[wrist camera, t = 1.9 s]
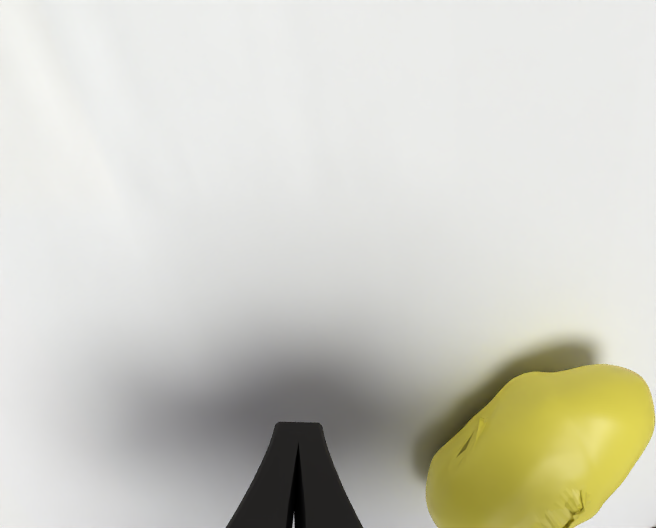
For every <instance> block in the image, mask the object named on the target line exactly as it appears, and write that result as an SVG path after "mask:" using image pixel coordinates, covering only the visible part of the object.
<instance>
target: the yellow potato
mask: <svg viewBox="0 0 656 528" xmlns="http://www.w3.org/2000/svg"><path fill="white" fill-rule="evenodd" d="M654 426H655V412H654V405H653V400H652V396H651V393H650V390H649V387H648V385H647V383H646V382H645V380H644V379H643V378H642V377H641V376H640V375H638V374H637V373H635V372H633V371H631V370H629V369H626V368H623V367H619V366H614V365H608V364H592V365H586V366H581V367H577V368H573V369H568V370H564V371H559V372H538V371H535V372H527V373H524V374H521V375H519V376H517V377H515V378H513V379H512V380H510V381H509V382H508V383H507V384H506V385H505V386H504V387H503V388H502V389H501V390H500V391H499V392H498V393H497V394H496V396H495V397H494V398H493V399H492V400H491V401H490V402H489V403H488V404H487V405H486V406H485V407H484V408H483V409H482V410H480V411H479V412H478V413H477V414H476V415H475V416H473V417H472V418H471V419H470V420H469V422H468V423H467V424H466V425H465V426H464V427H463V428H462V429H461V430H460V431H459V432H458V433H457V434H456V435H455V436H454V437H452V438H451V439H450V440H449V441H448V442H447V443H446V444H445V445H443V446H442V447H441V448H440V449H439V450H438V451H437V453H436V454H435V455H434V457H433V459H432V461H431V464H430V467H429V471H428V476H427V482H426V502H427V507H428V510H429V513H430V515H431V517H432V519H433V521H434V522H435V524H436V525H437V527H438V528H574V527H575V526H577V525H579V524H581V523H583V522H585V521H587V520H589V519H590V518H592V517H593V516H594V515H595V514H596V513H597V512H598V511H599V510H600V508H601V507H602V505H603V504H604V502H605V501H606V500H607V499H608V498H609V497H610V496H611V495H612V493H613V492H614V491H615V490H616V489H617V488H618V487H619V486H620V485H621V483H622V482H623V481H624V480H625V478H626V477H627V475H628V474H629V472H630V471H631V469H632V468H633V466H634V465H635V463H636V462H637V460H638V459H639V457H640V456H641V455H642V453H643V451H644V450H645V448H646V446H647V445H648V443H649V441H650V439H651V437H652V434H653V430H654Z"/></svg>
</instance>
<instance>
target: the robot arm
mask: <svg viewBox="0 0 656 528" xmlns="http://www.w3.org/2000/svg"><path fill="white" fill-rule="evenodd" d="M293 516H294V519H295V528H363V526H362V525H361V523H360V521H359V519H358V517H357V515H356V513H355V511H354V509H353V507H352V505H351V503H350V501H349V499H348V497H347V495H346V492H345V490H344V488H343V486H342V483H341V481H340V479H339V476H338V474H337V472H336V469H335V467H334V464H333V462H332V459H331V456H330V453H329V450H328V447H327V444H326V441H325V437H324V433H323V428H322V425H321V424H320V423H306V422H278V423H277V424H276V425H275V428H274V432H273V435H272V438H271V441H270V444H269V446H268V449H267V451H266V454H265V456H264V458H263V460H262V463H261V465H260V467H259V469H258V471H257V473H256V475H255V477H254V479H253V481H252V483H251V485H250V487H249V489H248V490H247V492H246V494H245V496H244V498H243V499H242V501H241V503H240V505H239V507H238V508H237V510H236V512H235V514H234V515H233V517H232V519H231V520H230V522H229V523H228V525H227V527H226V528H292V524H293Z"/></svg>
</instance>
